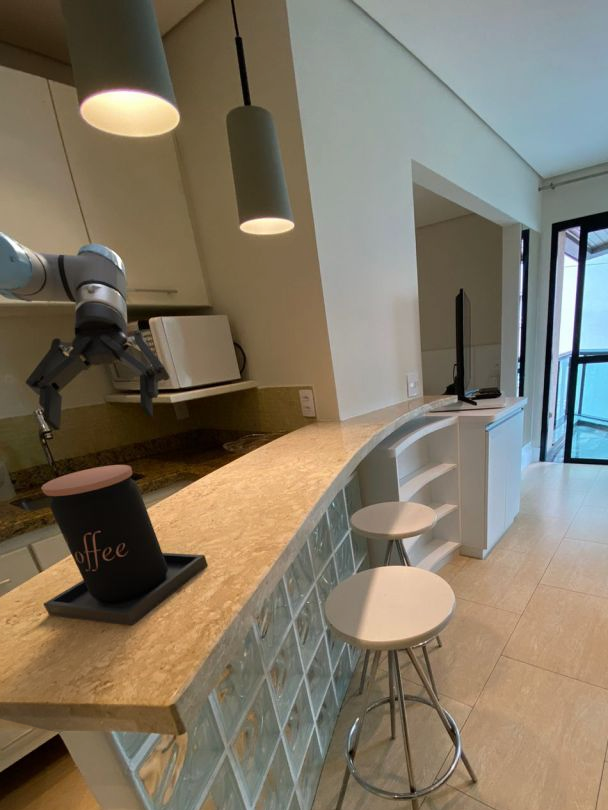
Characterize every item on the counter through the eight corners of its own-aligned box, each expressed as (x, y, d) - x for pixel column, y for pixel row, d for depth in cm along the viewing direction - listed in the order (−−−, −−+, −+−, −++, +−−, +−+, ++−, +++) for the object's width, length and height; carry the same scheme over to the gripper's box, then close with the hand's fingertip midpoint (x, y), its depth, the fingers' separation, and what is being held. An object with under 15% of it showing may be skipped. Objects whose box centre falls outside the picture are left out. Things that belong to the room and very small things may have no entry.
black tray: (48, 615, 59) (42, 603, 58) (135, 560, 73) (131, 550, 72) (132, 625, 55) (126, 613, 54) (207, 565, 68) (204, 554, 67)
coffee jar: (75, 604, 60) (20, 490, 53) (131, 566, 70) (91, 465, 63) (134, 608, 57) (84, 489, 50) (184, 568, 67) (148, 463, 60)
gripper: (4, 307, 66) (-10, 415, 58) (169, 294, 70) (176, 392, 63) (36, 343, 72) (27, 443, 65) (184, 329, 77) (192, 421, 69)
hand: (100, 418), depth 64 cm, fingers open, 13 cm apart
